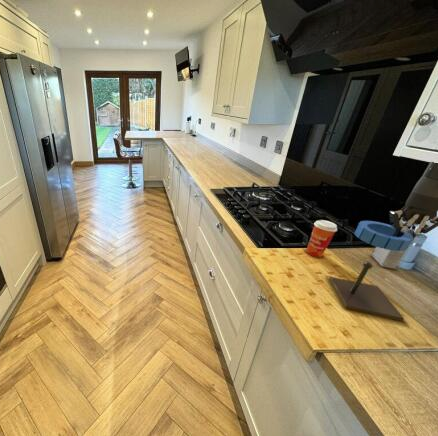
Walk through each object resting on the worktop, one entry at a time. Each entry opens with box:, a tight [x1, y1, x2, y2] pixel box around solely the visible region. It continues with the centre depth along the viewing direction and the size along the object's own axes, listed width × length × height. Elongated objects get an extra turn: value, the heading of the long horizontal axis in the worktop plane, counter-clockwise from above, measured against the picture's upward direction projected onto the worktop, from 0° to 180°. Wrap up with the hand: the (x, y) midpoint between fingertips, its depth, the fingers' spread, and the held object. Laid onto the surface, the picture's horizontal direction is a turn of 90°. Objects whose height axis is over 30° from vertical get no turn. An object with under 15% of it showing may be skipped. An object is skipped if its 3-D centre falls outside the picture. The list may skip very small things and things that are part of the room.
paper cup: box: [306, 219, 338, 258], centre depth 95 cm, size 8×8×14 cm
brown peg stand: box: [328, 261, 405, 322], centre depth 72 cm, size 14×14×13 cm
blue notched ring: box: [353, 220, 414, 252], centre depth 80 cm, size 14×14×4 cm
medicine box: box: [371, 246, 407, 270], centre depth 92 cm, size 8×4×9 cm, turn 161°
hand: (400, 241), depth 79 cm, fingers closed on blue notched ring, 2 cm apart
